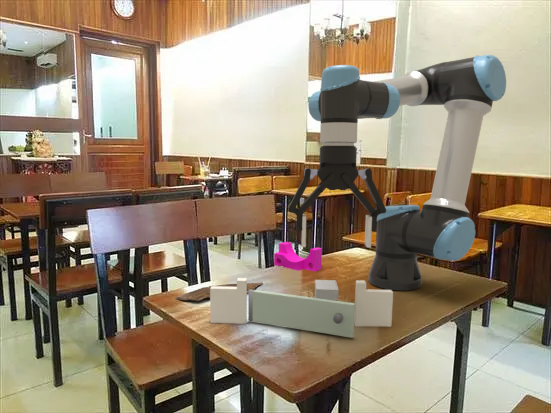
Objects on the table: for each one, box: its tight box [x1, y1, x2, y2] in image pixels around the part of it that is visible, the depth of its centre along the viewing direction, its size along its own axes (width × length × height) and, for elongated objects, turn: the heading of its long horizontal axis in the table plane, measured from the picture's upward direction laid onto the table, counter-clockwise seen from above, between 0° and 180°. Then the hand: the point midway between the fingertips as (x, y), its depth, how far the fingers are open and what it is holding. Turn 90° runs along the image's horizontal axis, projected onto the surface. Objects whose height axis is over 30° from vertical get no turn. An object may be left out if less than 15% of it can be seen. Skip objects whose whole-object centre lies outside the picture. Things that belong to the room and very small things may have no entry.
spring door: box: [247, 289, 355, 339], centre depth 90 cm, size 24×3×7 cm, turn 70°
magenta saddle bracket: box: [273, 241, 323, 272], centre depth 139 cm, size 15×6×8 cm, turn 51°
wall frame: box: [209, 277, 394, 328], centre depth 94 cm, size 41×2×10 cm, turn 89°
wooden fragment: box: [175, 282, 263, 302], centre depth 115 cm, size 26×11×1 cm, turn 120°
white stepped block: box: [314, 279, 339, 301], centre depth 96 cm, size 5×12×8 cm, turn 177°
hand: (335, 246), depth 89 cm, fingers open, 13 cm apart
